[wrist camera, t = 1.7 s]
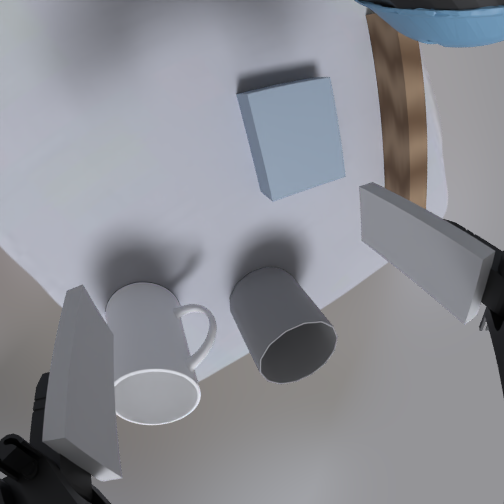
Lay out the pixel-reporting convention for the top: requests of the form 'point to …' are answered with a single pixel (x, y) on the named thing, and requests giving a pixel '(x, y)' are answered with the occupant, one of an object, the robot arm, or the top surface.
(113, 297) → the mug
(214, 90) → the top surface
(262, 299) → the cup
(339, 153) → the block
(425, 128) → the brown wooden bar
